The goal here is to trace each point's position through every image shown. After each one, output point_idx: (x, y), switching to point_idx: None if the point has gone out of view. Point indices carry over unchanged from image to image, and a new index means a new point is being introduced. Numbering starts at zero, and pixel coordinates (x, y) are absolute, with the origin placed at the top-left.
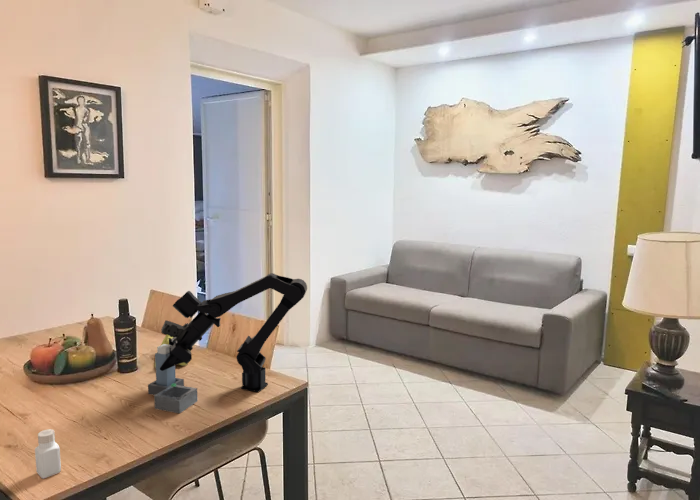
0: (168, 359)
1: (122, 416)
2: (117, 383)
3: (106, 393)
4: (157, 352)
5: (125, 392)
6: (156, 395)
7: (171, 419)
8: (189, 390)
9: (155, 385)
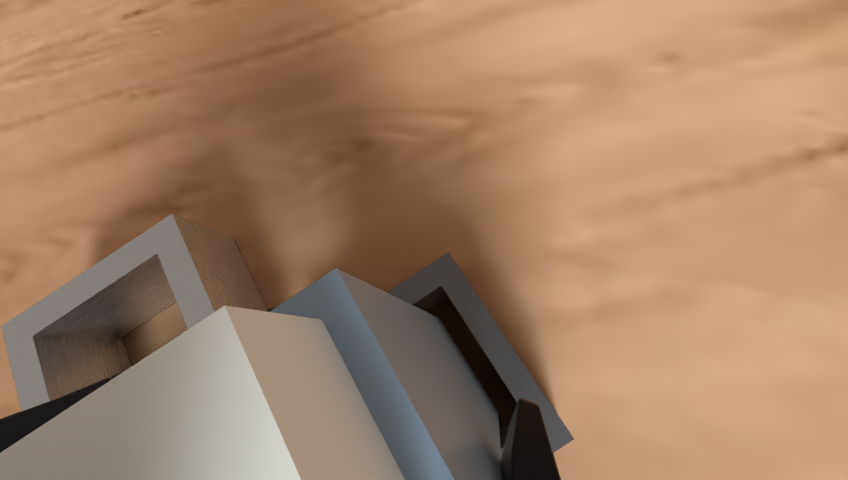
0: None
1: (265, 89)
2: (788, 139)
3: (624, 59)
4: (372, 337)
5: (573, 154)
6: (163, 225)
7: (75, 270)
8: None
9: (395, 295)
